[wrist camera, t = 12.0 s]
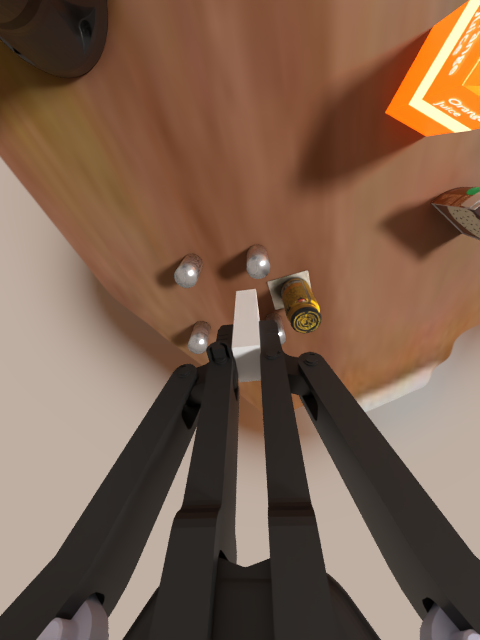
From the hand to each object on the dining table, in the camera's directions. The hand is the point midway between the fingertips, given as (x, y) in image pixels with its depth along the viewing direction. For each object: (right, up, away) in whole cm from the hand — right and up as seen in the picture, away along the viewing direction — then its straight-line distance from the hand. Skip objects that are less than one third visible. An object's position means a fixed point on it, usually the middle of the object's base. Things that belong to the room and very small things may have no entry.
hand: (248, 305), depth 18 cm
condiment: (+10, +5, +32) cm, 34 cm away
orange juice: (+25, +31, +14) cm, 42 cm away
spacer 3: (+3, +12, +27) cm, 30 cm away
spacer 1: (-10, +10, +29) cm, 32 cm away
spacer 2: (-10, -3, +38) cm, 39 cm away
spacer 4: (+7, -1, +36) cm, 37 cm away
